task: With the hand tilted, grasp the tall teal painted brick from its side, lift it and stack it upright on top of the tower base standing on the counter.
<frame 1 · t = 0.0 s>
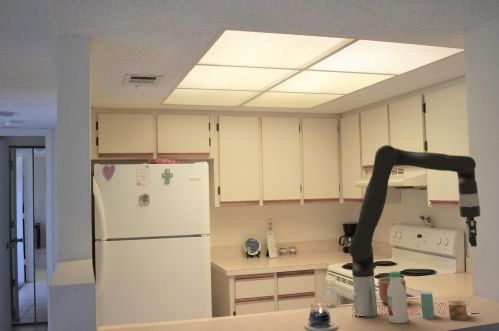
hand: (472, 244, 200), 29 cm above the countertop, tool pointing down, fingers open, 8 cm apart
tower base: (458, 317, 201), on the countertop
instruction page: (464, 310, 210), on the countertop
teal brick: (428, 316, 205), on the countertop
planter: (393, 303, 230), on the countertop
milk bottle: (398, 321, 202), on the countertop
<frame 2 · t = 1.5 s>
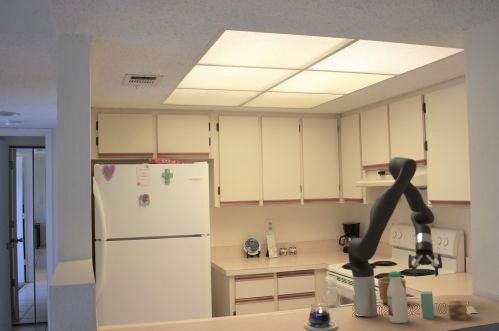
hand: (425, 275, 216), 15 cm above the countertop, tool tilted 45°, fingers open, 8 cm apart
nothing on the countertop moved.
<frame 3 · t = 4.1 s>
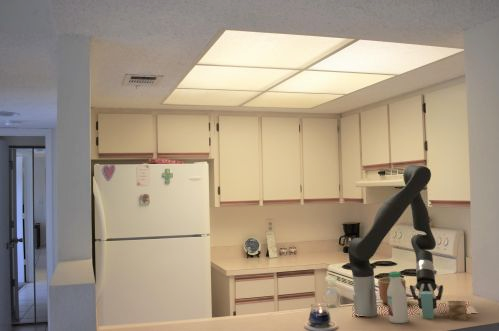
hand: (427, 307, 203), 4 cm above the countertop, tool tilted 45°, fingers closed on teal brick, 4 cm apart
teal brick: (428, 316, 205), on the countertop, touching gripper
everything else where it was.
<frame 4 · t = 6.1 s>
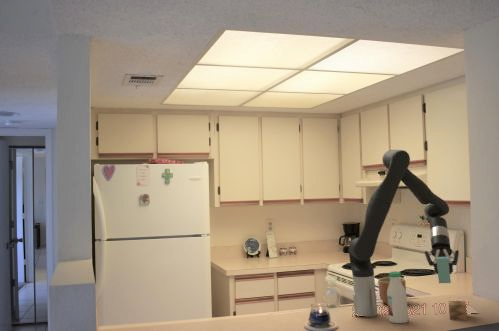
hand: (444, 272, 201), 18 cm above the countertop, tool tilted 45°, fingers closed on teal brick, 4 cm apart
teal brick: (444, 281, 203), point 14 cm above the countertop, touching gripper
everything else where it was.
when the fingers open (12 cm above the countertop, at t = 8.0 s): teal brick drops 2 cm, resting on tower base.
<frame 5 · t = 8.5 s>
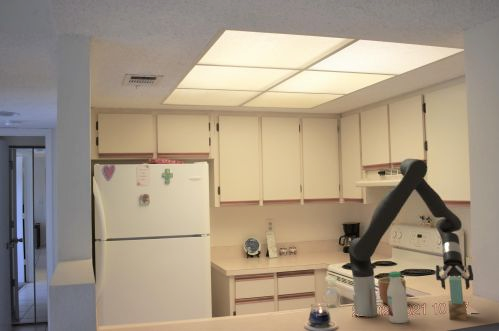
hand: (455, 288, 200), 12 cm above the countertop, tool tilted 45°, fingers open, 8 cm apart
tower base: (458, 317, 201), on the countertop, touching teal brick
teal brick: (457, 302, 201), point 6 cm above the countertop, touching tower base
everything else where it was.
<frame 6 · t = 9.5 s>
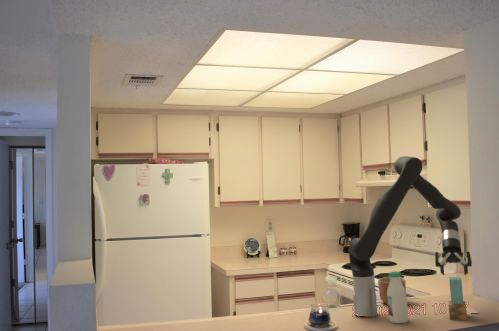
hand: (454, 274, 205), 17 cm above the countertop, tool tilted 45°, fingers open, 8 cm apart
nothing on the countertop moved.
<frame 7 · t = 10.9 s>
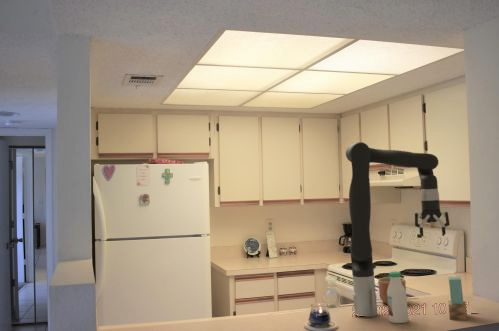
hand: (432, 235, 217), 32 cm above the countertop, tool pointing down, fingers open, 8 cm apart
nothing on the countertop moved.
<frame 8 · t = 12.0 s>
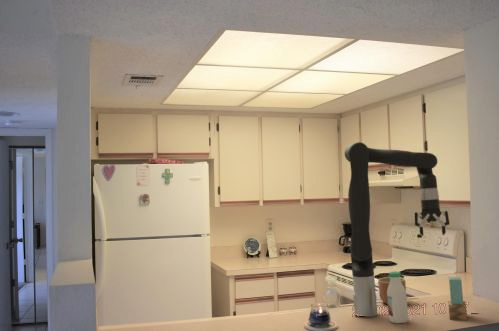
hand: (432, 235, 216), 32 cm above the countertop, tool pointing down, fingers open, 8 cm apart
tower base: (458, 317, 201), on the countertop
teal brick: (457, 302, 201), point 6 cm above the countertop
everything else where it was.
at the end: teal brick 0.1 cm off-centre on the tower base, point 6.1 cm above the tower base's base; teal brick tilted 1°; the gripper is holding nothing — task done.
